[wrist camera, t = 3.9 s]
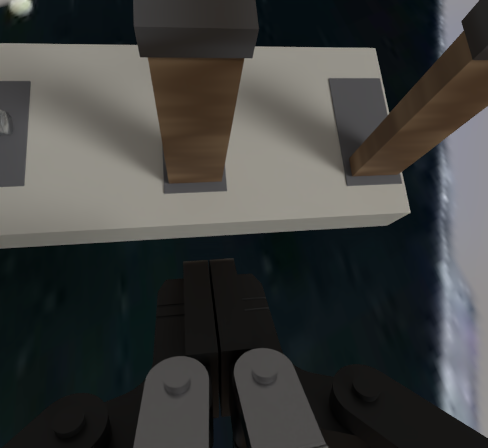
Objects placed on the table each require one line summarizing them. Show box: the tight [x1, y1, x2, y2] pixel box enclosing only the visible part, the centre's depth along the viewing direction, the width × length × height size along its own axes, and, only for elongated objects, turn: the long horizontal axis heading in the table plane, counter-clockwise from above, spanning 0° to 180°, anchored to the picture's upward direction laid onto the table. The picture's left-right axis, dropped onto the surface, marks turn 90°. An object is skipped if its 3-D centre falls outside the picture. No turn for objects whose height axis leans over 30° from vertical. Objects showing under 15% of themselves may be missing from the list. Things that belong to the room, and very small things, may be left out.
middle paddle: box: [133, 0, 259, 184], centre depth 16 cm, size 3×2×12 cm, turn 96°
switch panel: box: [0, 43, 411, 249], centre depth 24 cm, size 27×12×3 cm, turn 96°
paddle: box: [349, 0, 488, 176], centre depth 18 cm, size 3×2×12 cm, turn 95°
